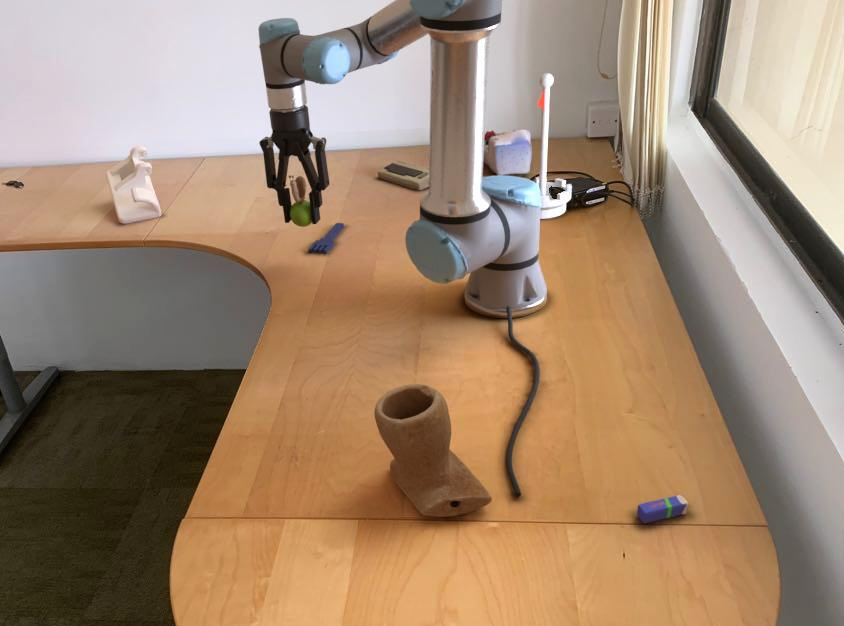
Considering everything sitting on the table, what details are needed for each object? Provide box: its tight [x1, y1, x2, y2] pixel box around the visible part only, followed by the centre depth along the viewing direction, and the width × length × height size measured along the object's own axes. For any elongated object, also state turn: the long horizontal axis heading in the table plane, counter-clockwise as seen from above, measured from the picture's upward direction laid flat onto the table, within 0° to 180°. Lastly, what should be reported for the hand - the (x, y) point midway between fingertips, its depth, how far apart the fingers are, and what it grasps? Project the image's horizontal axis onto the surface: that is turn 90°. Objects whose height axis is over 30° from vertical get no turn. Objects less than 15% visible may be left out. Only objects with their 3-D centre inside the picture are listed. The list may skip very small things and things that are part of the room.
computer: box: [377, 160, 429, 191], centre depth 216 cm, size 16×8×3 cm, turn 40°
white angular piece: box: [105, 145, 163, 225], centre depth 215 cm, size 20×11×13 cm, turn 19°
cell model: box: [483, 129, 533, 176], centre depth 216 cm, size 13×11×20 cm
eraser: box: [636, 494, 690, 524], centre depth 107 cm, size 2×6×2 cm, turn 103°
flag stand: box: [534, 72, 573, 220], centre depth 185 cm, size 13×13×30 cm
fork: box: [307, 222, 345, 255], centre depth 190 cm, size 15×4×1 cm, turn 161°
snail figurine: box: [288, 174, 312, 228], centre depth 172 cm, size 5×6×12 cm
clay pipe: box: [373, 383, 493, 518], centre depth 111 cm, size 15×12×15 cm
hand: (302, 220), depth 175 cm, fingers closed on snail figurine, 5 cm apart
